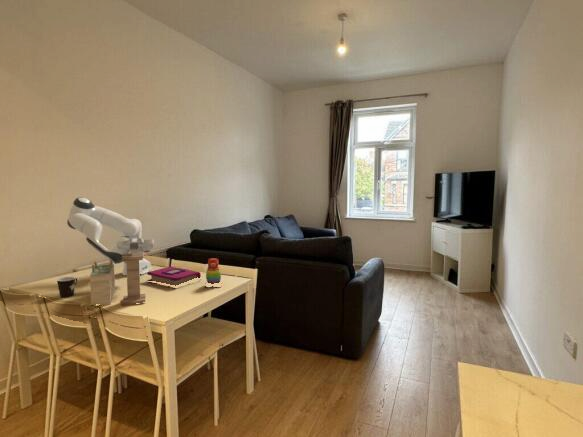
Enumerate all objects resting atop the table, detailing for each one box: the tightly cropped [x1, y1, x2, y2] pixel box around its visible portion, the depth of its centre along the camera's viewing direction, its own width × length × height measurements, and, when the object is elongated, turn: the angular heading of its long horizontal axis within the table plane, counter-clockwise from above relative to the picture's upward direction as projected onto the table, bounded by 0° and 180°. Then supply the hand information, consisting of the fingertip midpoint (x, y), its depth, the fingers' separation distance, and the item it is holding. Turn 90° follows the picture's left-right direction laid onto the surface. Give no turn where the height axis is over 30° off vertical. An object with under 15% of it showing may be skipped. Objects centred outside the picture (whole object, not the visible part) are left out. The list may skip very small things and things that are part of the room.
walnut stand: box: [121, 253, 146, 307], centre depth 183 cm, size 11×11×26 cm
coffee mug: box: [56, 276, 78, 299], centre depth 192 cm, size 12×9×10 cm
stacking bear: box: [205, 257, 222, 284], centre depth 214 cm, size 11×10×18 cm
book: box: [146, 266, 202, 286], centre depth 223 cm, size 21×28×8 cm
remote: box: [130, 237, 139, 249], centre depth 189 cm, size 22×4×3 cm, turn 23°
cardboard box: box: [89, 260, 116, 306], centre depth 187 cm, size 22×9×20 cm, turn 22°
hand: (135, 239), depth 196 cm, fingers closed on remote, 4 cm apart
